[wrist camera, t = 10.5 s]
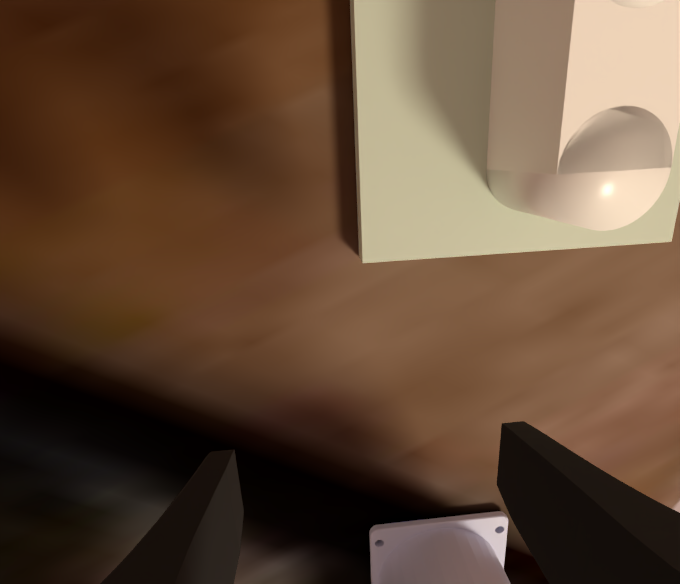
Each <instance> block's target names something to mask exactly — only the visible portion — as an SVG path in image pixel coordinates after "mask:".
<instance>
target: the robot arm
mask: <svg viewBox="0 0 680 584" xmlns="http://www.w3.org/2000/svg"><path fill="white" fill-rule="evenodd" d="M497 486H498V488H499V491H500V493H501V495H502V498H503V500H504V503H505V505H506V507H507V509H508V511H509V514H510V516H511V518H512V520H513V522H514V524H515V526H516V528H517V529H518V531H519V533H520V534H521V536H522V538H523V540H524V541H525V543H526V545H527V546H528V548H529V550H530V552H531V553H532V555H533V557H534V558H535V560H536V562H537V563H538V565H539V567H540V568H541V570H542V572H543V574H544V575H545V577H546V579H547V580H548V582H549V584H680V513H679V512H677V511H675V510H673V509H671V508H669V507H667V506H665V505H663V504H661V503H659V502H657V501H655V500H653V499H651V498H650V497H648V496H646V495H644V494H642V493H641V492H639V491H637V490H635V489H634V488H632V487H630V486H628V485H626V484H625V483H623V482H621V481H619V480H618V479H616V478H614V477H613V476H611V475H609V474H608V473H606V472H604V471H603V470H601V469H599V468H598V467H596V466H594V465H593V464H591V463H589V462H588V461H586V460H585V459H583V458H581V457H580V456H578V455H577V454H575V453H574V452H572V451H570V450H569V449H567V448H566V447H564V446H563V445H561V444H559V443H558V442H556V441H555V440H553V439H552V438H550V437H549V436H547V435H545V434H544V433H542V432H541V431H539V430H537V429H536V428H534V427H532V426H531V425H529V424H527V423H526V422H524V421H522V422H512V423H502V428H501V440H500V452H499V464H498V476H497ZM243 515H244V509H243V503H242V496H241V490H240V483H239V477H238V470H237V464H236V457H235V450H234V449H233V450H223V451H213V452H210V453H209V454H208V455H207V456H206V458H205V459H204V461H203V462H202V463H201V465H200V466H199V467H198V469H197V470H196V472H195V473H194V474H193V476H192V477H191V478H190V480H189V481H188V482H187V484H186V485H185V486H184V488H183V489H182V490H181V492H180V493H179V494H178V496H177V497H176V498H175V499H174V501H173V502H172V503H171V505H170V506H169V507H168V508H167V510H166V511H165V512H164V513H163V515H162V516H161V517H160V518H159V520H158V521H157V522H156V523H155V524H154V526H153V527H152V528H151V529H150V530H149V531H148V533H147V534H146V535H145V536H144V537H143V538H142V539H141V541H140V542H139V543H138V544H137V545H136V546H135V548H134V549H133V550H132V551H131V552H130V553H129V554H128V555H127V556H126V558H125V559H124V560H123V561H122V562H121V563H120V564H119V565H118V566H117V567H116V568H115V569H114V570H113V571H112V572H111V573H110V574H109V575H108V576H107V577H106V578H105V579H104V580H103V581H102V582H101V584H234V579H235V574H236V569H237V564H238V559H239V554H240V546H241V537H242V526H243ZM507 529H508V518H507V516H506V515H505V513H504V512H501V511H496V512H487V513H478V514H469V515H460V516H451V517H442V518H433V519H424V520H415V521H406V522H397V523H388V524H379V525H375V526H373V527H372V528H371V529H370V532H369V537H370V565H371V584H510V582H509V580H508V578H507V575H506V573H505V571H504V560H505V550H506V540H507ZM377 540H380V541H377Z"/></svg>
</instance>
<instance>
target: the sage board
mask: <svg viewBox="0 0 680 584" xmlns="http://www.w3.org/2000/svg"><path fill="white" fill-rule="evenodd" d="M495 2H496V0H350V19H351V47H352V75H353V103H354V131H355V159H356V187H357V215H358V243H359V258H360V259H361V261H362V263H371V262H386V261H400V260H415V259H429V258H444V257H458V256H472V255H487V254H501V253H516V252H530V251H545V250H559V249H574V248H588V247H603V246H617V245H631V244H646V243H660V242H671V241H672V236H673V231H674V226H675V221H676V216H677V211H678V206H679V201H680V123H679V129H678V134H677V139H676V145H675V150H674V156H673V161H672V166H671V171H670V175H669V178H668V181H667V183H666V185H665V188H664V190H663V192H662V193H661V195H660V196H659V198H658V199H657V201H656V202H655V203H654V205H653V206H652V207H651V208H650V209H649V210H648V211H647V212H646V213H645V214H643V215H642V216H641V217H640V218H638V219H637V220H635V221H634V222H632V223H630V224H628V225H626V226H624V227H621V228H618V229H614V230H608V231H597V230H591V229H587V228H583V227H579V226H575V225H571V224H567V223H563V222H559V221H556V220H552V219H548V218H544V217H540V216H536V215H532V214H528V213H524V212H520V211H517V210H513V209H510V208H508V207H505V206H504V205H502V204H501V203H500V202H499V201H497V199H496V198H495V197H494V196H493V194H492V192H491V190H490V188H489V185H488V182H487V151H488V132H489V113H490V95H491V76H492V58H493V39H494V20H495Z"/></svg>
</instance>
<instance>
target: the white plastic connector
mask: <svg viewBox="0 0 680 584" xmlns="http://www.w3.org/2000/svg"><path fill="white" fill-rule="evenodd" d="M679 123H680V0H496V2H495V20H494V39H493V58H492V76H491V95H490V113H489V132H488V151H487V182H488V185H489V188H490V190H491V192H492V194H493V196H494V197H495V198H496V199H497V201H499V202H500V203H501V204H502V205H504V206H505V207H508V208H510V209H513V210H517V211H520V212H524V213H528V214H532V215H536V216H540V217H544V218H548V219H552V220H556V221H559V222H563V223H567V224H571V225H575V226H579V227H583V228H587V229H591V230H597V231H608V230H614V229H618V228H621V227H624V226H626V225H628V224H630V223H632V222H634V221H635V220H637V219H638V218H640V217H641V216H642V215H643V214H645V213H646V212H647V211H648V210H649V209H650V208H651V207H652V206H653V205H654V203H655V202H656V201H657V199H658V198H659V196H660V195H661V193H662V192H663V190H664V188H665V185H666V183H667V181H668V178H669V175H670V171H671V166H672V161H673V156H674V150H675V145H676V139H677V134H678V129H679Z"/></svg>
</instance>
